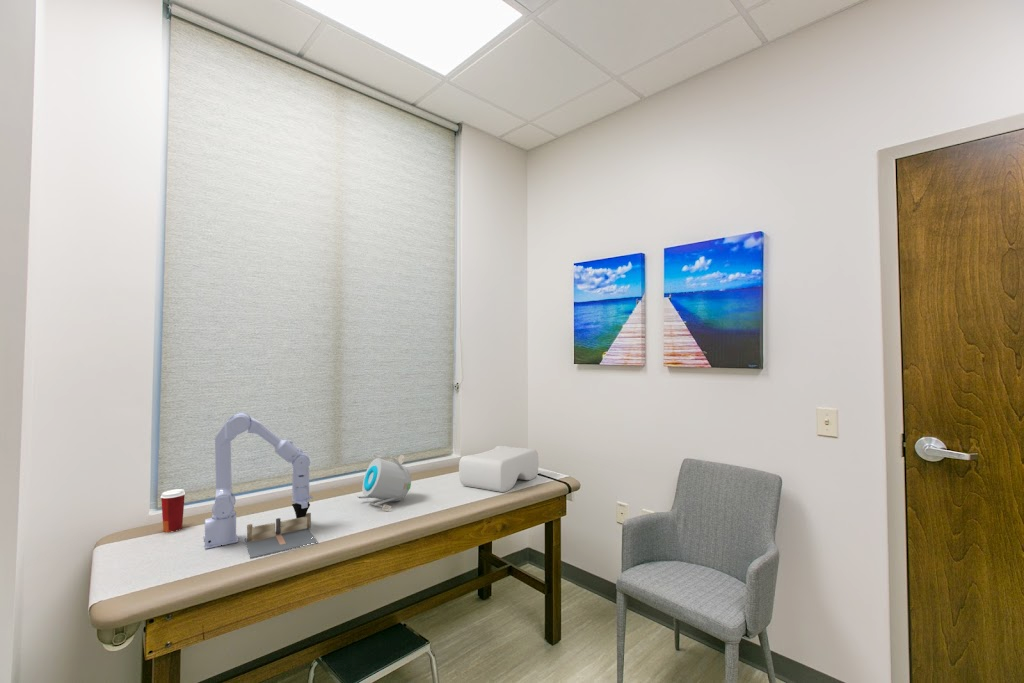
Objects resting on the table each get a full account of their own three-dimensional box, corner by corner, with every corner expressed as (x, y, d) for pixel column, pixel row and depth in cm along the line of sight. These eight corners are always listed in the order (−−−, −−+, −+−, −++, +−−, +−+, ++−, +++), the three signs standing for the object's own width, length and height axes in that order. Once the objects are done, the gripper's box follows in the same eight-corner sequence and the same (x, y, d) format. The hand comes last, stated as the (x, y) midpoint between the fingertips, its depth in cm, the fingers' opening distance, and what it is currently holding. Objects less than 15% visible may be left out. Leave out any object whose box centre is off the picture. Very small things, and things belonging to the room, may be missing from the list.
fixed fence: (247, 542, 156) (247, 526, 157) (246, 540, 158) (246, 524, 158) (275, 536, 161) (275, 520, 161) (274, 534, 163) (274, 519, 163)
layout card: (250, 558, 144) (250, 557, 144) (244, 539, 160) (244, 538, 160) (318, 543, 156) (318, 541, 156) (306, 526, 171) (306, 525, 171)
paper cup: (189, 525, 175) (189, 488, 176) (178, 532, 168) (178, 493, 168) (166, 526, 174) (167, 489, 175) (154, 534, 167) (155, 495, 167)
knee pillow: (501, 495, 207) (500, 462, 208) (458, 487, 221) (457, 456, 221) (539, 477, 237) (538, 448, 237) (499, 471, 250) (498, 444, 251)
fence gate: (276, 534, 161) (276, 519, 162) (275, 533, 163) (275, 518, 163) (311, 527, 168) (311, 513, 168) (310, 526, 169) (310, 512, 170)
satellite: (428, 462, 199) (403, 457, 219) (387, 450, 189) (365, 446, 208) (411, 516, 192) (387, 506, 211) (368, 507, 181) (347, 497, 201)
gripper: (316, 488, 167) (316, 526, 166) (308, 480, 178) (308, 515, 178) (295, 491, 163) (295, 530, 162) (288, 483, 174) (288, 519, 174)
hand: (300, 523), depth 170 cm, fingers closed
